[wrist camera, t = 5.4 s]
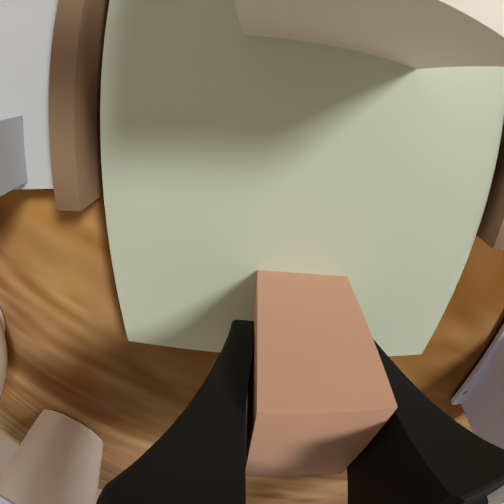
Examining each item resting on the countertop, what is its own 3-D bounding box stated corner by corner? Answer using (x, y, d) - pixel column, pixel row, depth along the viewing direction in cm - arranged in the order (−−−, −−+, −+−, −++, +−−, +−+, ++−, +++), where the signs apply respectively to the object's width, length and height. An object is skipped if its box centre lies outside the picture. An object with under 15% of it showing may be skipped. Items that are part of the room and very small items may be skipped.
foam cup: (9, 390, 18) (-41, 502, 6) (82, 406, 17) (34, 558, 5) (64, 445, 22) (34, 541, 11) (136, 461, 21) (113, 577, 10)
